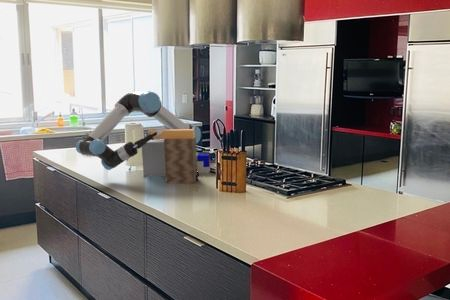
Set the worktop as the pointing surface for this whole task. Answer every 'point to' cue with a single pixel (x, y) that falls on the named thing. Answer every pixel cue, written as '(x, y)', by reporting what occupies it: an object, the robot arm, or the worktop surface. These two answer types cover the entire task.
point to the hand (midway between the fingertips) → (163, 129)
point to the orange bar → (175, 134)
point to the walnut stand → (180, 160)
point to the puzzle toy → (203, 162)
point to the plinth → (153, 158)
